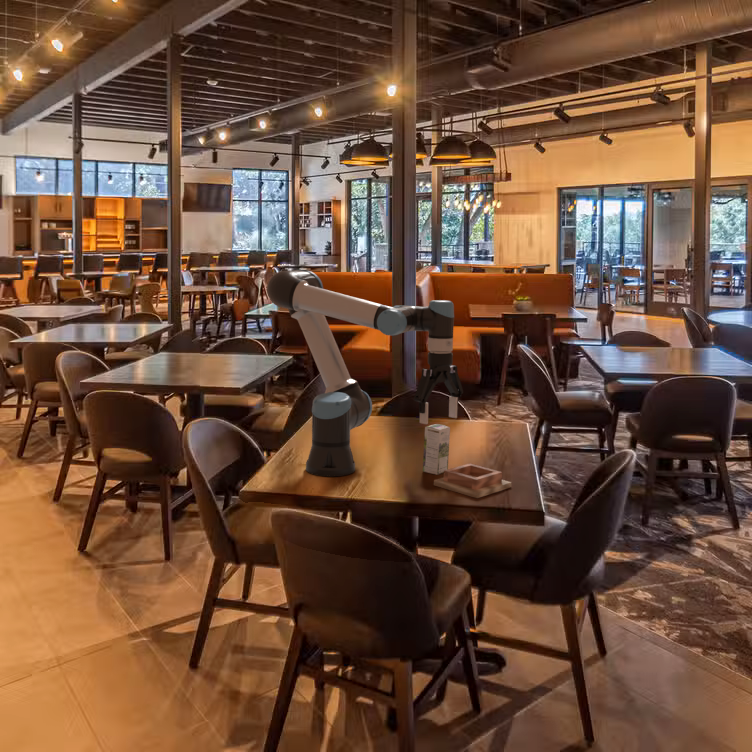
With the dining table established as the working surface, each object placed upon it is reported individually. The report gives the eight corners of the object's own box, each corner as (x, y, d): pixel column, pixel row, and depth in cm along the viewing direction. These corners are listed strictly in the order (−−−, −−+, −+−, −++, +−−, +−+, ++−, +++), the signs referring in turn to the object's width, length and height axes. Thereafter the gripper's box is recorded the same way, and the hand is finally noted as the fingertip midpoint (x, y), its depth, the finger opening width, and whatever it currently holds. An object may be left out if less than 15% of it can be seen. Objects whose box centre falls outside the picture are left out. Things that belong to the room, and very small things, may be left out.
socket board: (476, 498, 222) (477, 482, 222) (433, 485, 233) (434, 470, 233) (511, 487, 233) (511, 472, 233) (468, 475, 245) (469, 460, 244)
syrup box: (433, 468, 251) (434, 423, 249) (448, 471, 248) (450, 426, 245) (422, 471, 247) (424, 426, 245) (438, 475, 243) (439, 429, 241)
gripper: (421, 356, 230) (420, 428, 233) (475, 349, 247) (473, 416, 251) (403, 353, 235) (401, 424, 239) (457, 347, 253) (455, 413, 256)
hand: (438, 420), depth 245 cm, fingers open, 13 cm apart
